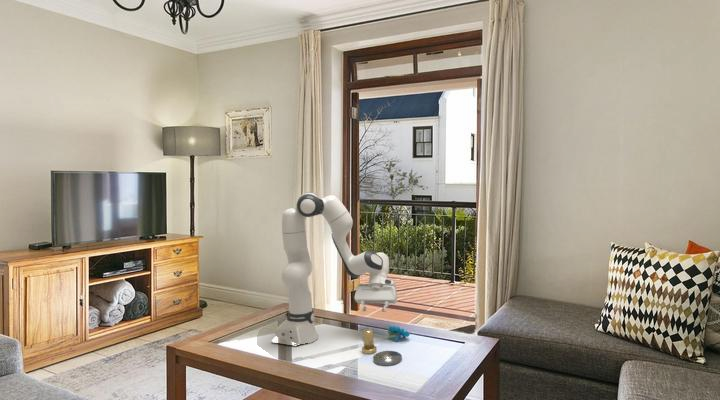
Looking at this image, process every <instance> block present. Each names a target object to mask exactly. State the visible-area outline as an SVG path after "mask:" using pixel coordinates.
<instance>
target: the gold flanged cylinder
mask: <svg viewBox="0 0 720 400" xmlns="http://www.w3.org/2000/svg"><path fill="white" fill-rule="evenodd" d="M362 338H363V346H362V347H361V352H362V354H363V355H375V354H376V353H378V351H377V346H376V345H375V341H374V329H373V328H364V329H363V330H362Z"/></svg>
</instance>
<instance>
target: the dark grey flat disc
mask: <svg viewBox="0 0 720 400" xmlns="http://www.w3.org/2000/svg"><path fill="white" fill-rule="evenodd" d="M402 357H403V356H402V354H401V352H398V351H394V350H383V351H379V352H376V353H374V354H373V357H372V358H373V360H372V361H373V363H374V364H376V365H377V366H383V367H389V366H395V365H398V364H400V363H401V362H402V360H403V358H402Z"/></svg>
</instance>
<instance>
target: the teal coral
mask: <svg viewBox="0 0 720 400" xmlns="http://www.w3.org/2000/svg"><path fill="white" fill-rule="evenodd" d="M387 332H388V339H387V340H390V339H391V336H395V339H394V342H395V343H397V342H398V339H399V337H403V338H409V336H410V333H409V331H407V330H405V328H400V326H395V325H390V326H389V327H388V330H387Z"/></svg>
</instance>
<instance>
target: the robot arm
mask: <svg viewBox="0 0 720 400" xmlns="http://www.w3.org/2000/svg"><path fill="white" fill-rule="evenodd" d="M318 215H319V216H320V215H321V216H323V218H324V219H325V221H326V222H327V224H328V225H329V227H330V230H331V239H332V242H333V245H334V246H335V248H336V250H337V252H338V254H339V256H340V258H341V261H342V263H343V265H344V269H345V271H346V273H347V275H349V276H350V277H352V278H359V277H361V276H363V275H364V274H367V273H368V274H369V278H368V283H364V284H362V283H359V284H358V285H357V286H356V289H355V293H354V301H355V303H357V304H361V306H362V308H361V310H362V312H366V311H367V306H365V304H384V305H383V306H382V307H381V311H382V312H383V313H386V311H387V308H388V307H389V306H390V304H393V305H394V304H397V302H398V292H397V286H396V283H395V282H394V280H391V279H388V274H389V270H390V258H389V255H387V254H386V253H384V252H375V251H373V250H369V249H368V250H366V251H363V252H361V253H359V254H357V255H354V254H353V253H352V251H351V248H350V246H349V244H348V242H347V237H348V234H349V233H350V231H351V230H352V228H353V224H354V220H353V218H352V215H351V213H350V212H349V211H348V208H346V206H345V205H344V204H343V202H342V201H341V200H340V199H339V198H338V197H337V196H336V195H334V194H333V195H331V194H330V195H326V196H324V197H322V198H320V197H319V195H318V194H317V193H315V192H312V191H307V192H304V193H302V194H300V196H299V197H298V199H297V201H296V206H295V207H290V208H288V209H286V210H284V211H283V213H282V217H281V218H282V219H281V233H282V234H281V235H282V243H283V249H284V252H285V253H286V257H287V262H288V264H287V265H285V266H284V269H283V271H282V273H281V281H282V282H283V284H284V286H285V290H286V293H287V297H288V298H287V299H288V308H289V309H288V311H287V312H286V313H285V314H284V317H286V318H285V319H284V321H282V322H281V323H280V324H279V325H278V326H277V327H276V330H275V335H276V336H277V337H279V338H282V339H285V340H289V341H292V342H294V343H296V344H294V345H298V344H304V345H306V344H305V343H308V344H311V343H313V342H315V341H317V340H318V339H317V338H319V335H318V333H317V330H316V325H315V312H314V308H313V303H312V302H313V301H312V293H311V291H310V288H309V284H308V278H309V276H311V274H312V270H313V263H312V261H311V257H310V252H309V248H308V242H307V231H306V230H307V229H306V219H307V218H311V217H315V216H318ZM316 339H317V340H316Z"/></svg>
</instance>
